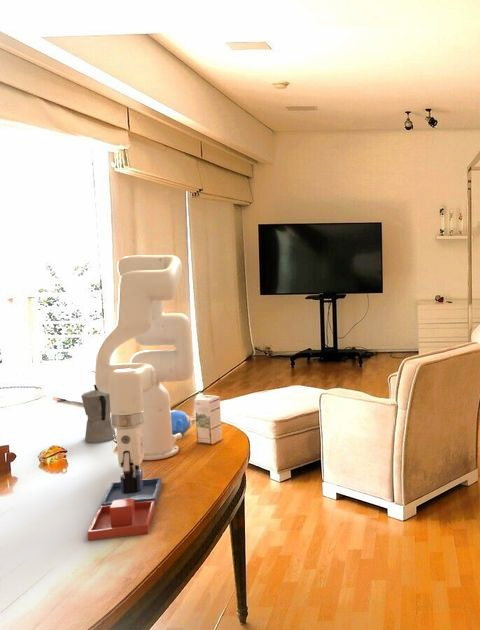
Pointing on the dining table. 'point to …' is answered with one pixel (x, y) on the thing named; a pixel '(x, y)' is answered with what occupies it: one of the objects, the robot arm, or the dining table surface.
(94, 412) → the coffeepot
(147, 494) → the blue tray
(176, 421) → the blue mole toy
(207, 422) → the syrup box
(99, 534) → the red tray
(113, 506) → the red block
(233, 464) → the dining table surface
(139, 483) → the blue block
